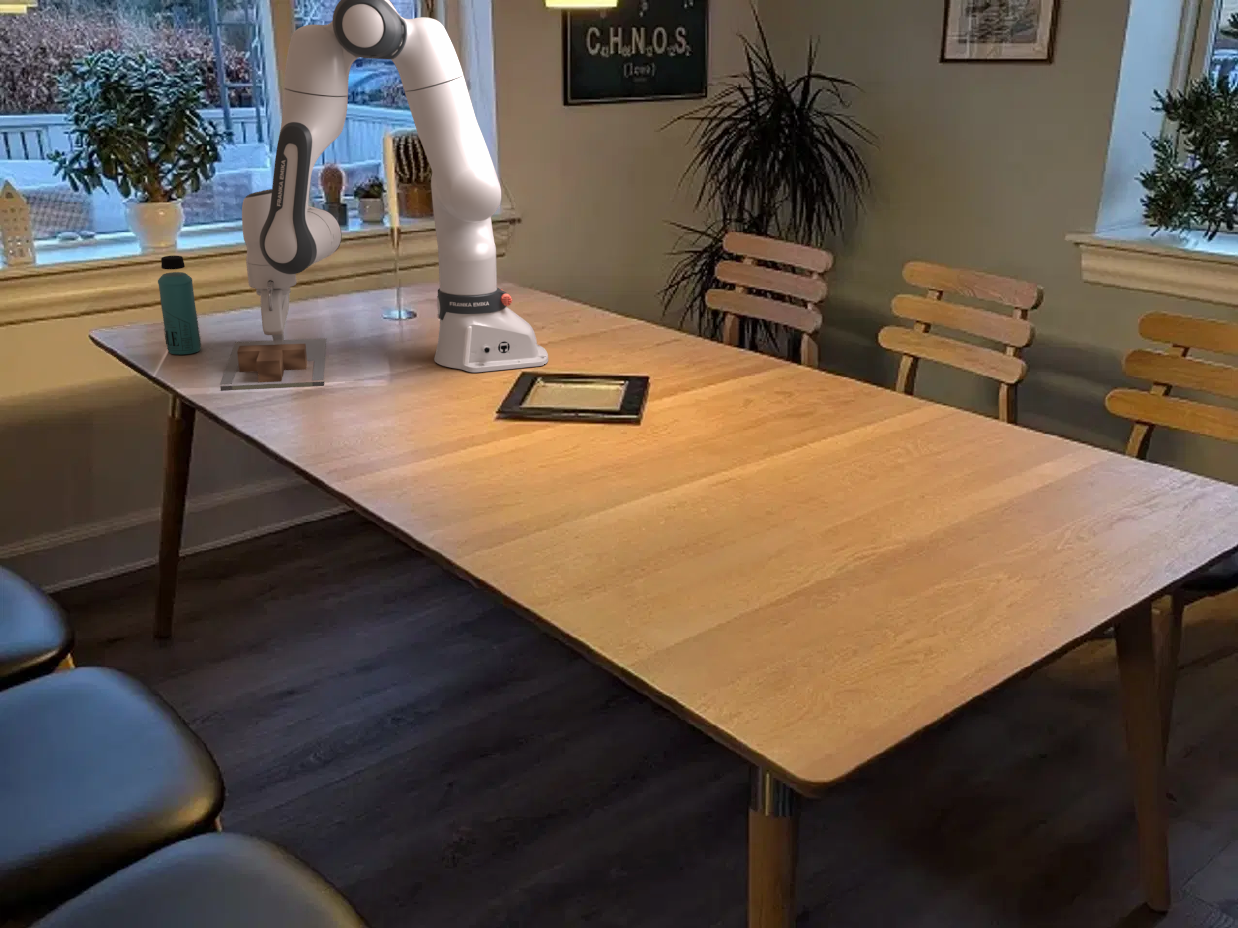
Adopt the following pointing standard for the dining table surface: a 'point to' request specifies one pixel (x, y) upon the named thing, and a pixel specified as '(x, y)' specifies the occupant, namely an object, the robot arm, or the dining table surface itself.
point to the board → (314, 353)
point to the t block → (272, 360)
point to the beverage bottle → (178, 308)
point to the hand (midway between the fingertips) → (279, 345)
